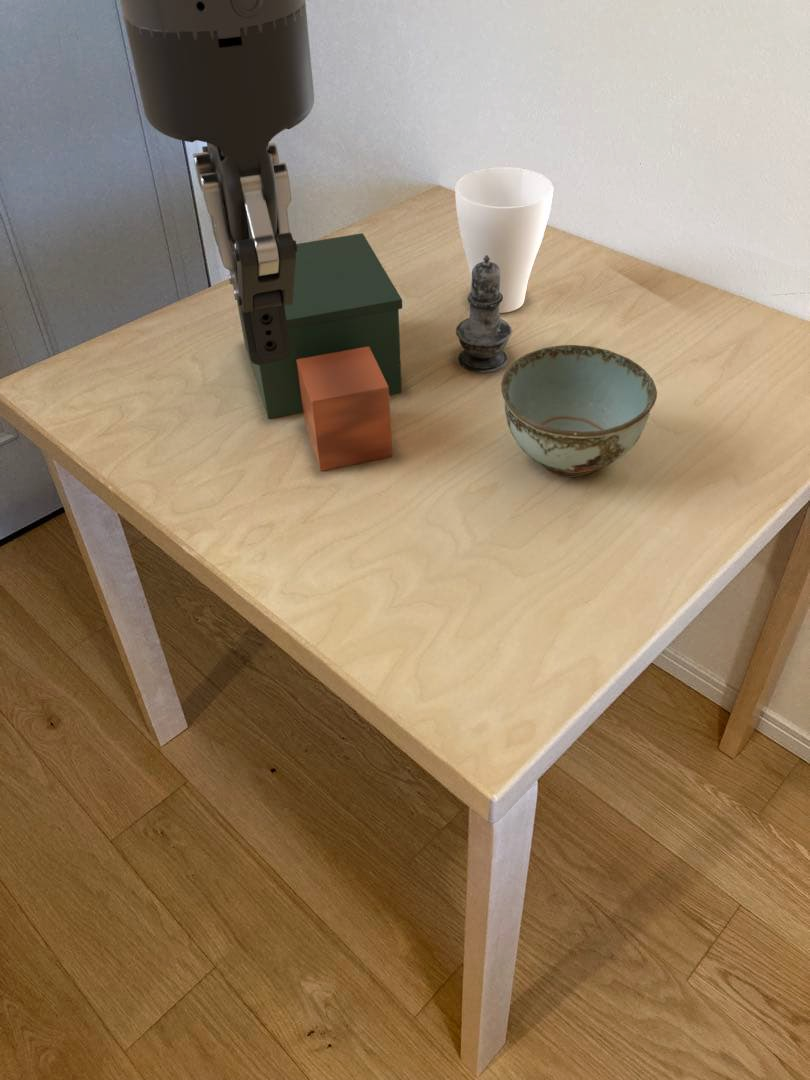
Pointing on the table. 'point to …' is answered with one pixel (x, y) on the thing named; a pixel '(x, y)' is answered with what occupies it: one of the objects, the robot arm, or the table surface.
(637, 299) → the table surface
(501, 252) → the cup
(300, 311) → the box
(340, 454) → the block
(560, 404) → the bowl
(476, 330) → the dark grey chess piece
